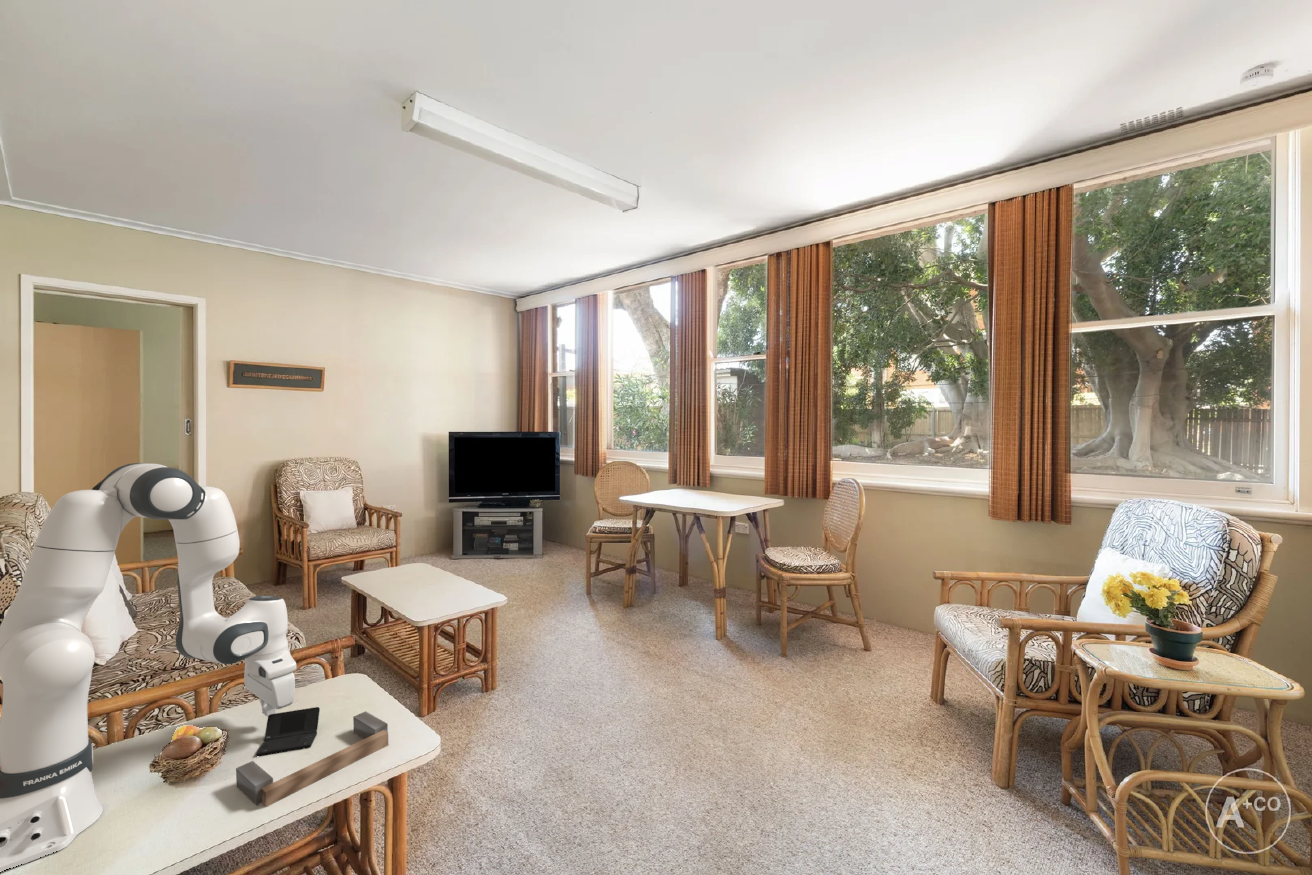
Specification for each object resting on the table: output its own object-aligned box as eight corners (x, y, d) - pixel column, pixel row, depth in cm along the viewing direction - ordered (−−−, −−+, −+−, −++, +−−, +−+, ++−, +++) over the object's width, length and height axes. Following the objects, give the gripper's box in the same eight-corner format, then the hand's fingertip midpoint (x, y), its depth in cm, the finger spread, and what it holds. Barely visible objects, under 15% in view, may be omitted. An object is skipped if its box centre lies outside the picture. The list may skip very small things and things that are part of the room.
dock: (260, 809, 108) (259, 789, 108) (236, 786, 115) (236, 768, 114) (392, 742, 130) (392, 726, 130) (365, 726, 137) (365, 711, 137)
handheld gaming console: (254, 755, 123) (264, 707, 129) (256, 761, 128) (265, 714, 134) (314, 748, 128) (321, 702, 134) (314, 754, 133) (320, 709, 139)
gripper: (235, 654, 140) (237, 707, 140) (270, 675, 128) (271, 733, 129) (264, 645, 145) (265, 697, 146) (299, 665, 134) (301, 721, 134)
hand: (268, 714), depth 137 cm, fingers closed
